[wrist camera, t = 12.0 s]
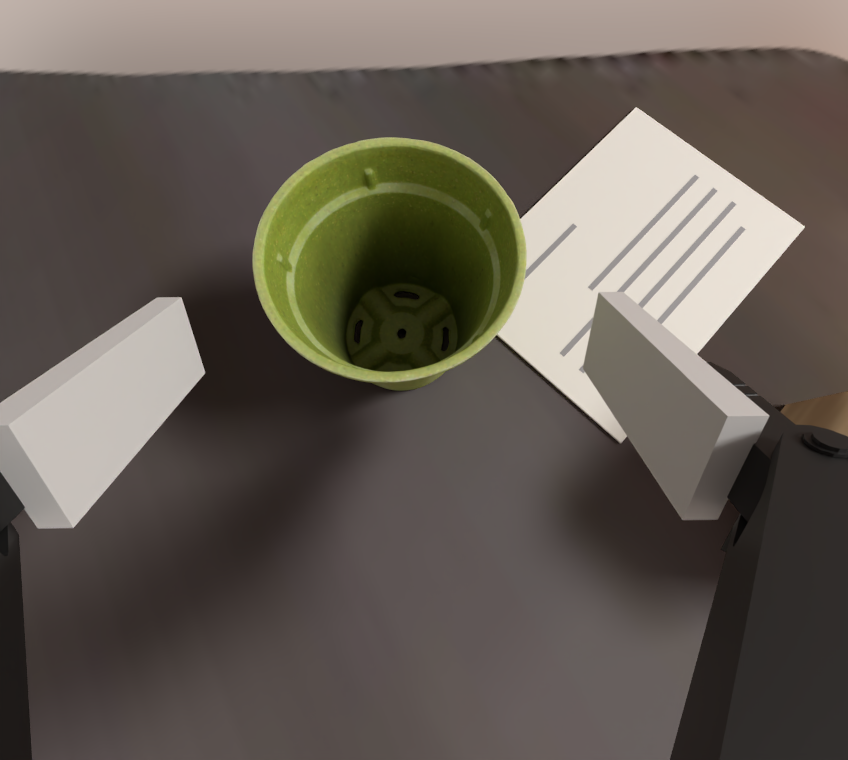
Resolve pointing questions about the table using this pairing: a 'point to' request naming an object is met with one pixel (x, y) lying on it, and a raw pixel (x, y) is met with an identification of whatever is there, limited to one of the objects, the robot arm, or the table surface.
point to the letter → (638, 251)
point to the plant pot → (389, 260)
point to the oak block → (821, 412)
